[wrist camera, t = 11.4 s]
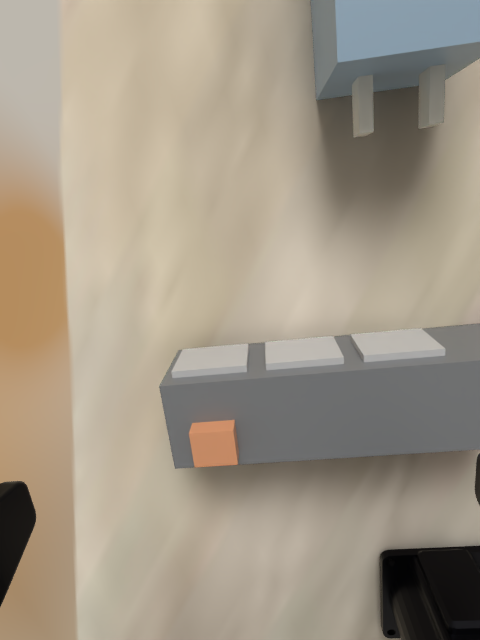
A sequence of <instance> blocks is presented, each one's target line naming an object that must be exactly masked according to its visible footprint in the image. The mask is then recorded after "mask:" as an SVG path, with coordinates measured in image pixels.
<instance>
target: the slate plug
mask: <svg viewBox="0 0 480 640" xmlns="http://www.w3.org/2000/svg"><path fill="white" fill-rule="evenodd" d="M311 14H312V32H313V51H314V69H315V87H316V100H322V99H329V98H336V97H343V96H350V95H352V109H353V138H354V137H361V136H367V135H369V134H371V133H373V132H374V111H373V92H379V91H386V90H393V89H400V88H407V87H414V86H419V121H418V129H422V128H430V127H434V126H436V125H439V124H441V123H444V99H445V80H446V79H448V78H449V77H451V76H452V75H454V74H456V73H457V72H459V71H460V70H462V69H464V68H465V67H467V66H468V65H470V64H471V63H473V62H475V61H476V60H478V59H479V58H480V0H311Z"/></svg>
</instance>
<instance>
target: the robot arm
mask: <svg viewBox="0 0 480 640" xmlns="http://www.w3.org/2000/svg"><path fill="white" fill-rule="evenodd" d="M475 494H476V498H477V501H478V503H479V505H480V454H479V455H478V457H477V463H476V478H475ZM35 522H36V513H35V509H34V505H33V502H32V500H31V496H30V493H29V490H28V487H27V485H26V484H25V483H24V482H22V481H13V482H4V483H1V484H0V606H1V604H2V602H3V600H4V598H5V595H6V593H7V590H8V589H9V586H10V584H11V581H12V579H13V576H14V574H15V572H16V569H17V567H18V564H19V562H20V559H21V557H22V555H23V552H24V550H25V547H26V545H27V543H28V540H29V538H30V535H31V533H32V531H33V528H34V525H35ZM389 559H391V560H389ZM380 579H381V627H382V631H383V634H384V636H385V637H387V638H401V640H480V546H466V547H442V548H419V549H396V550H386V551H384V552H382V554H381V556H380Z"/></svg>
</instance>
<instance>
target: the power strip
mask: <svg viewBox="0 0 480 640" xmlns="http://www.w3.org/2000/svg"><path fill="white" fill-rule="evenodd" d="M159 388H160V393H161V398H162V403H163V409H164V414H165V419H166V424H167V429H168V435H169V440H170V445H171V450H172V456H173V461H174V466H175V469H177V468H193V467H209V466H225V465H240V464H256V463H272V462H288V461H304V460H320V459H336V458H352V457H368V456H384V455H399V454H415V453H431V452H447V451H463V450H479V449H480V324H470V325H458V326H447V327H436V328H425V329H421V328H416V329H404V330H393V331H382V332H371V333H359V334H350V335H345V336H334V337H333V336H325V337H314V338H303V339H292V340H280V341H269V342H265V343H255V344H249V343H246V344H235V345H224V346H212V347H201V348H190V349H183V350H179V351H178V353H177V354H176V356H175V358H174V360H173V362H172V364H171V366H170V367H169V369H168V371H167V373H166V375H165V377H164V379H163V380H162V382H161V384H160V386H159Z"/></svg>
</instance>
